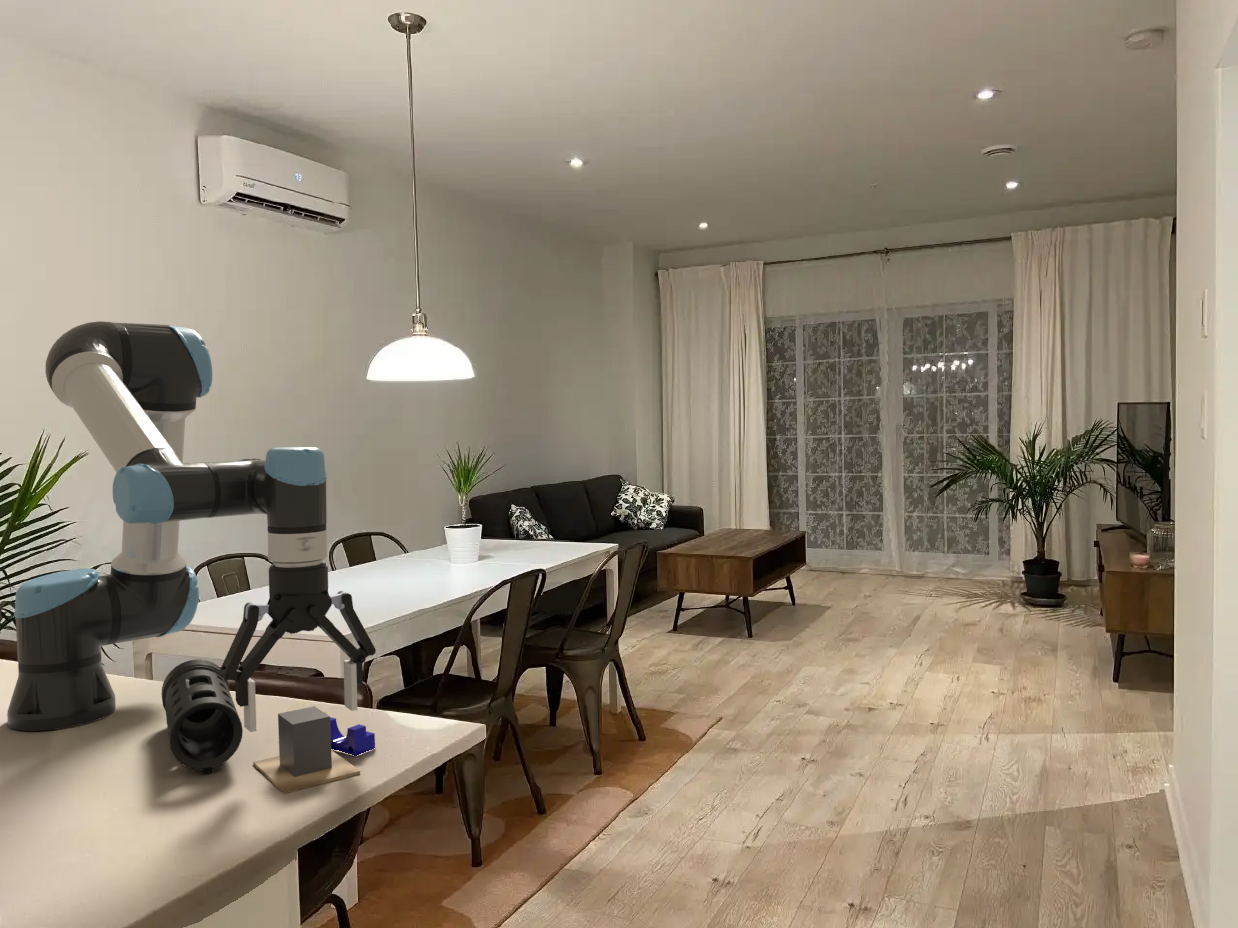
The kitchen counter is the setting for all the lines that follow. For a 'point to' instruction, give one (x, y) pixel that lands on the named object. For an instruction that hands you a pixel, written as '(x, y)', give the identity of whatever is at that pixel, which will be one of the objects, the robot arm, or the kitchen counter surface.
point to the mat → (291, 783)
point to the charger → (304, 741)
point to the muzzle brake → (200, 715)
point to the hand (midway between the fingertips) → (302, 718)
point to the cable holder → (351, 739)
